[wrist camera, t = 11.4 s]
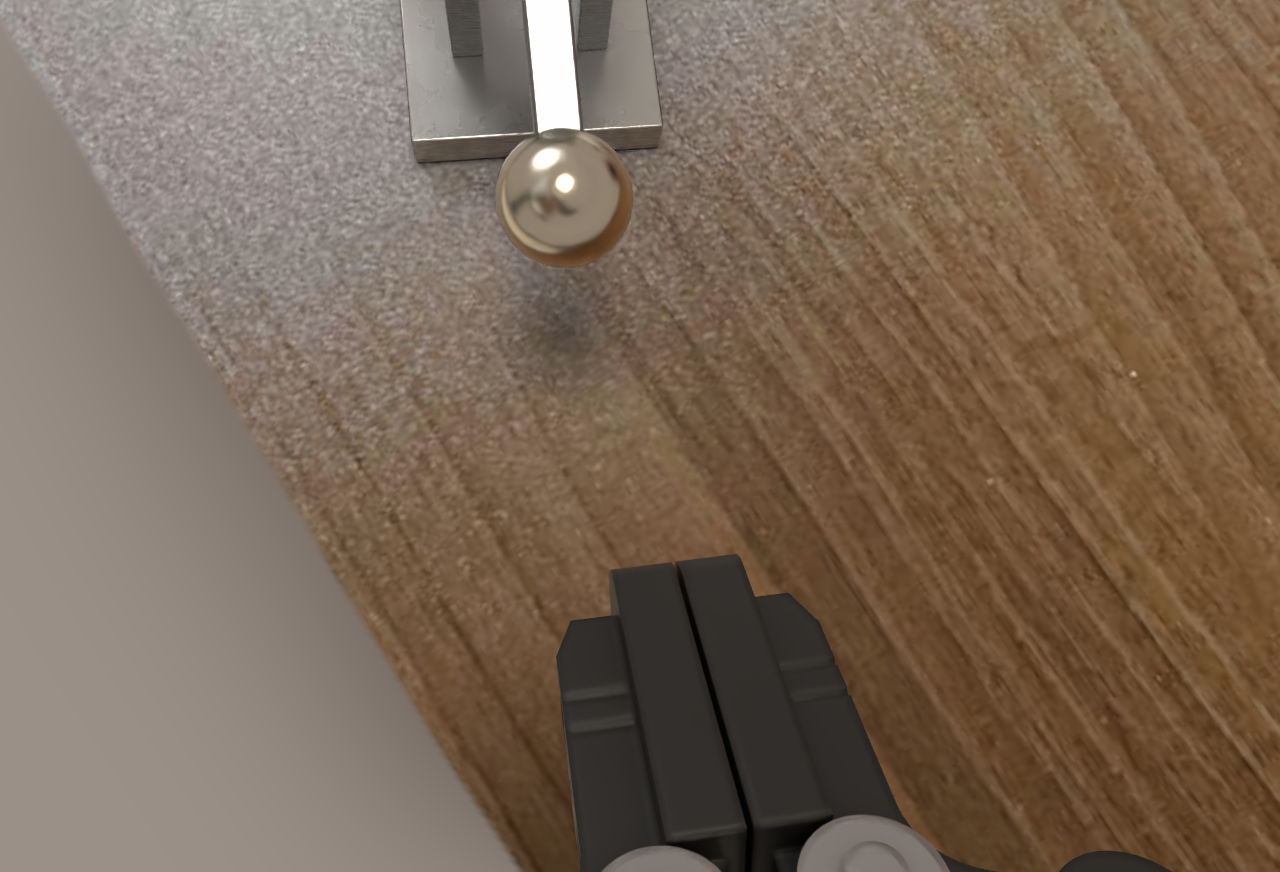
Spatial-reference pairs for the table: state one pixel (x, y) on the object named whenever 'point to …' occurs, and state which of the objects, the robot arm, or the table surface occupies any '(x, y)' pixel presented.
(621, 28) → the bracket
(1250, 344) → the table surface
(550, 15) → the flush lever
